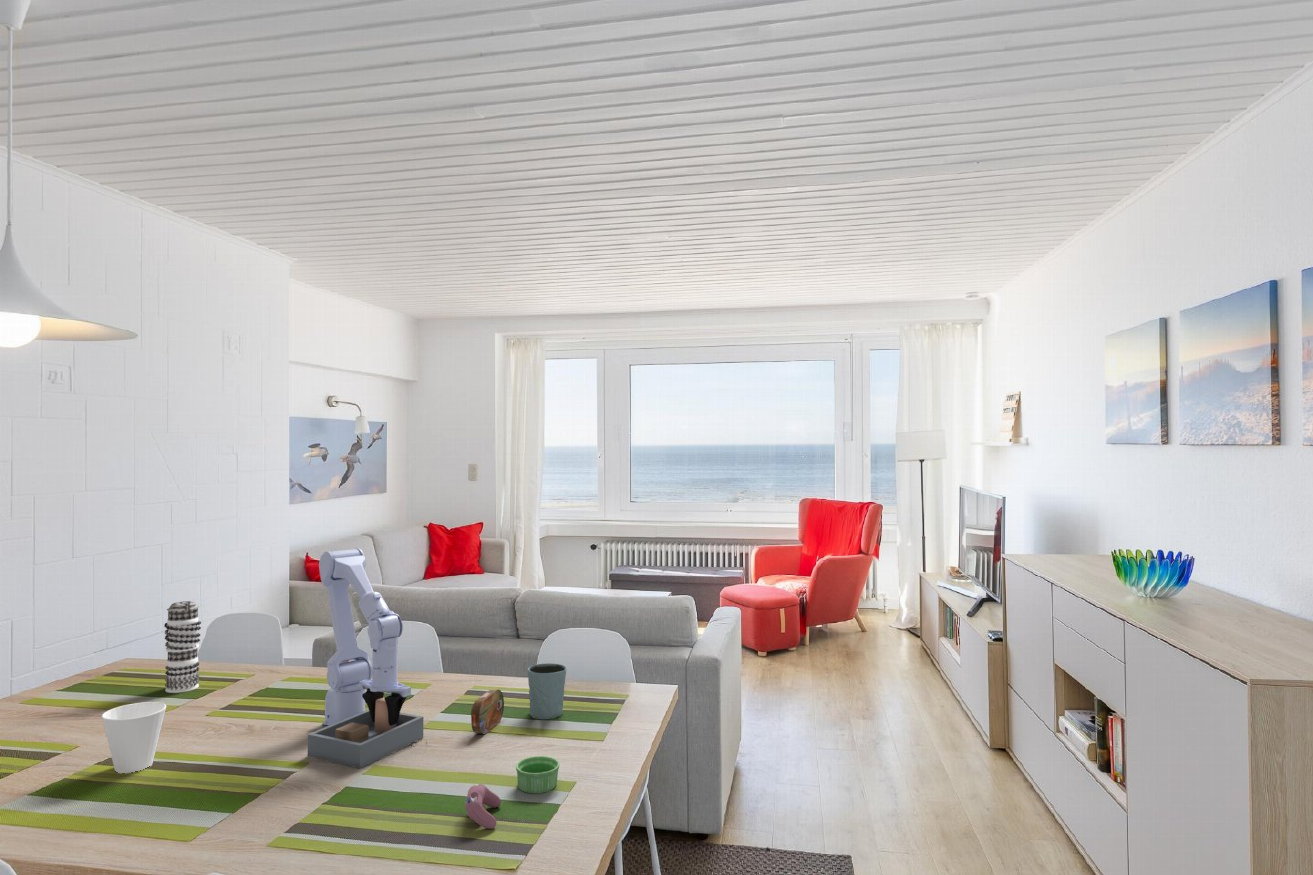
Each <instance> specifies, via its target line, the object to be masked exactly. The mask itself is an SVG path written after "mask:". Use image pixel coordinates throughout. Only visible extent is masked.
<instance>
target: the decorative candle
mask: <svg viewBox="0 0 1313 875" xmlns="http://www.w3.org/2000/svg"><path fill="white" fill-rule="evenodd" d="M199 608H200V607H199V605H197V604H196V602H194V601H191V600H188V601H186V600H185V601H184V600H183V601H178V602H174V603H172V604H171V605H169V608H167V609H166V611H167V621H166V622H165V623H164V626H163V627H164V628H165V629H166V630H164V635H165V637H164V639H165V640H166V642H165V646H164V647H166V648H165V651H166V652H167V659H166V666H165V670H166V671H165V672H164V673H165V675H166V677H165V678H164V681H165V684H164V686H165V687H166V688H165V692H166V693H167V694H168V693H169V694H170V693H172V694H177V693H179V694H180V693H186V692H190V691H193V690H196V689H198V688H199V687H200V684H199V683H200V679H199V678H200V673H199V671H200V667H198V666H200V662H199V656H198V648H200V644H199V642H201V639H200V638H199V637H201V633H199V632H198V631H200V630H201V629H202V627H201V626H200V625H201V624H202V622H201V621H200V620H199V619H200V618H199Z"/></svg>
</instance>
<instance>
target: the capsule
mask: <svg viewBox="0 0 1313 875" xmlns="http://www.w3.org/2000/svg"><path fill="white" fill-rule="evenodd" d="M395 727H396V724H394V725H389V721H388V708H387V704H386V701H385V697H383V698H380V699H377V700H376V705H375V728H374V731H375V732H377V733H384V732H386V731H389V730H391V729H393V728H395Z"/></svg>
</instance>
